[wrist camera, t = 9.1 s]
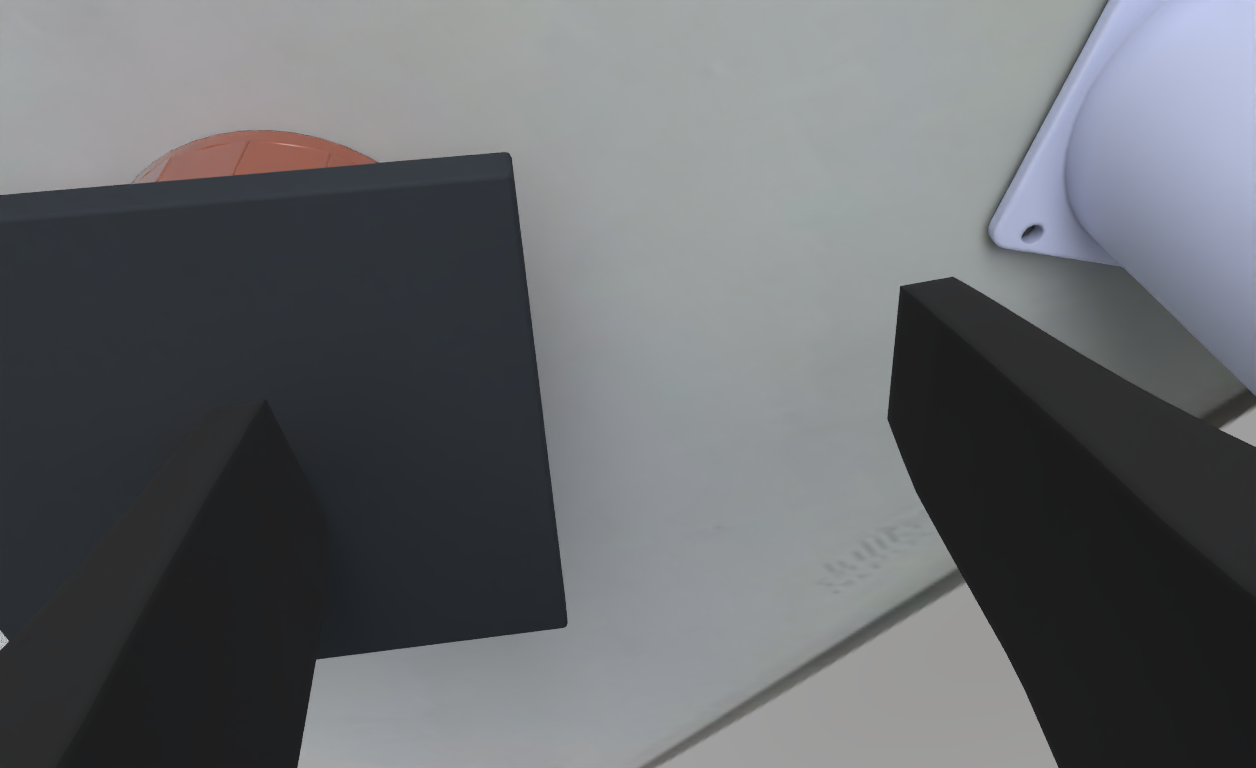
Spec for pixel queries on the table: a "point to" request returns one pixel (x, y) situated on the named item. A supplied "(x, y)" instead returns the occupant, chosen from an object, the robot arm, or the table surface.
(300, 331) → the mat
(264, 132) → the cup
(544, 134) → the table surface
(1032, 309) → the table surface
